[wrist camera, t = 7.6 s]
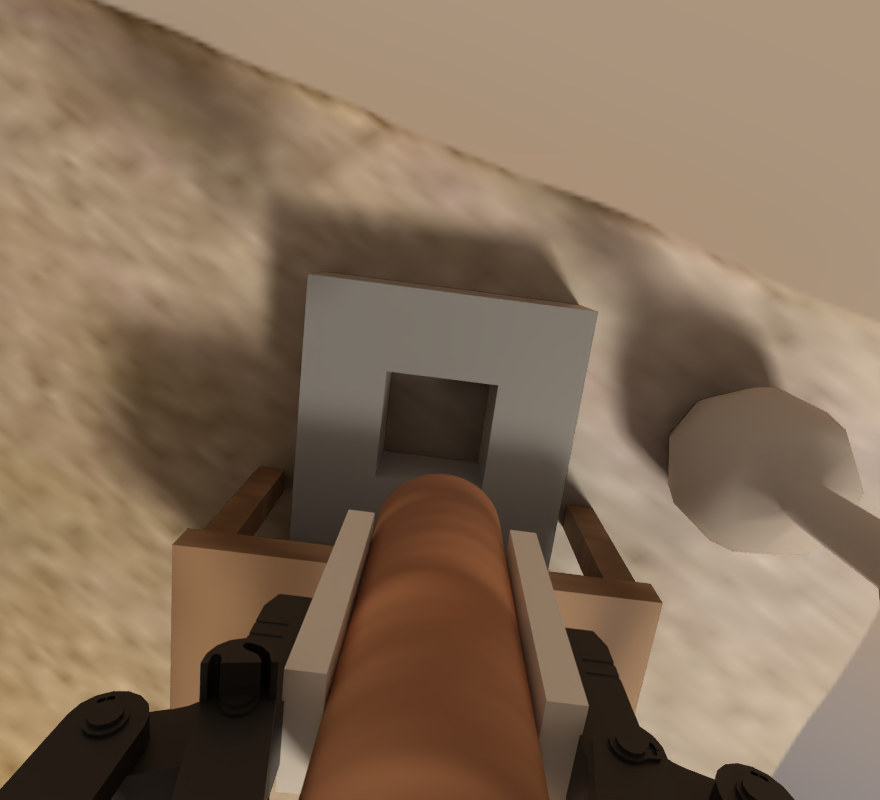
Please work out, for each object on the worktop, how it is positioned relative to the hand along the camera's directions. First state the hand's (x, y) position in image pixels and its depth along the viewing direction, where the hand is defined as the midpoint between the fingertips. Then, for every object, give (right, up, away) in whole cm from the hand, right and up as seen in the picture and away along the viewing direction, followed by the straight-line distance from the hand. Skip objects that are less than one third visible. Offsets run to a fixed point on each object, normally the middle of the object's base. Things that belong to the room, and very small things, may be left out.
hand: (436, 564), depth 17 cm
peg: (0, 0, +2) cm, 2 cm away
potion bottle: (+17, +2, +17) cm, 24 cm away
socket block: (0, +4, +16) cm, 17 cm away
